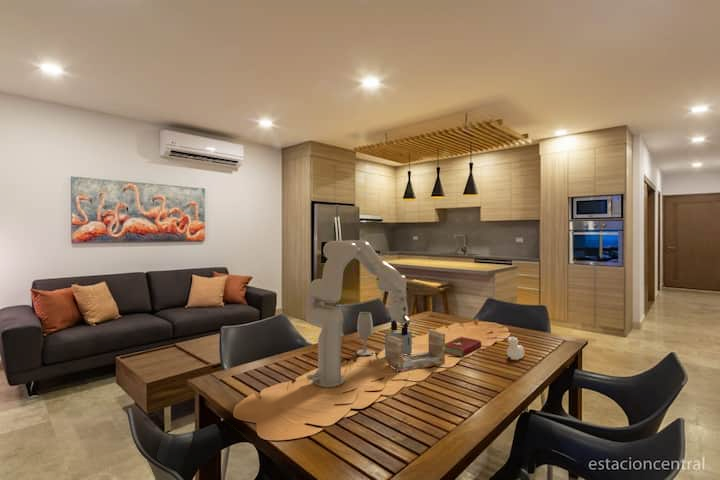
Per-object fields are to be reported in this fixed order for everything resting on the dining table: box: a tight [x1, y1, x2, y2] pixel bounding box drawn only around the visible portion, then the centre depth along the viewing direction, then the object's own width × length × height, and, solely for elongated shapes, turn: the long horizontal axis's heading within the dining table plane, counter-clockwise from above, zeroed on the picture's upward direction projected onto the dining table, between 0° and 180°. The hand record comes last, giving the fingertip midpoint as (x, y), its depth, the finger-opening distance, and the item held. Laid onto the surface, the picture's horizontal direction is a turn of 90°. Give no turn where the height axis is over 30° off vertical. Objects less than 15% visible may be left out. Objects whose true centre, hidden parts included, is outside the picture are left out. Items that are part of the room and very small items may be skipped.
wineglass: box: [356, 311, 374, 357], centre depth 193 cm, size 9×9×21 cm
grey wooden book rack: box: [386, 328, 446, 372], centre depth 178 cm, size 26×10×14 cm, turn 117°
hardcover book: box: [445, 336, 482, 357], centre depth 201 cm, size 12×21×4 cm, turn 137°
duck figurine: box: [506, 336, 526, 361], centre depth 188 cm, size 12×8×11 cm
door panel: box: [384, 329, 413, 358], centre depth 191 cm, size 14×4×12 cm, turn 117°
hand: (399, 332), depth 191 cm, fingers open, 9 cm apart
